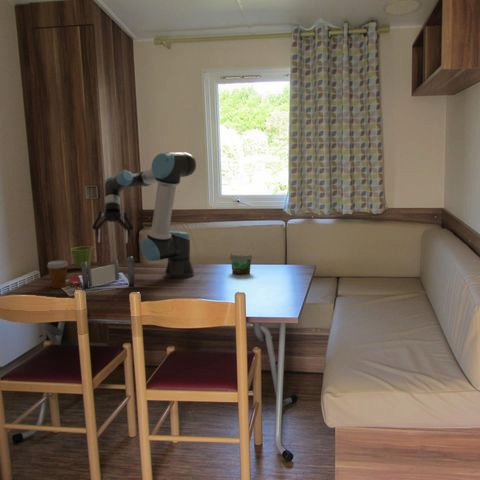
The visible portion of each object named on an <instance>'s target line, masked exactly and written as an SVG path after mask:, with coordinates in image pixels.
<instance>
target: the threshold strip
mask: <svg viewBox="0 0 480 480" xmlns="http://www.w3.org/2000/svg"><path fill="white" fill-rule="evenodd" d="M93 287H94V288H92V287H90V290H91V289H95V290H112V289H128V285H120V286H119V285H118V286H117V285H116V286H97V287H96V286H93Z"/></svg>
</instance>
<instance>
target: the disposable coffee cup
mask: <svg viewBox="0 0 480 480" xmlns="http://www.w3.org/2000/svg"><path fill="white" fill-rule="evenodd" d="M68 265H69V263H68V261H67V260H52V261H49V262H47V265H46V266H47V269H48V272H49V277H50V282H51V287H52V288H53V289H61V288H65V287H67V276H68V275H67V274H68V273H67V272H68Z"/></svg>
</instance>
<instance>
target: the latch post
mask: <svg viewBox="0 0 480 480" xmlns="http://www.w3.org/2000/svg"><path fill="white" fill-rule="evenodd" d="M126 263H127V265H126V266H127V278H128V279H127V281H128V283H127V284H128V285H127V289H135V288H136V287H137V285H136V278H135V275H136V274H135V258H134V257H133V256H131V255H130V256H128V257H127V259H126Z"/></svg>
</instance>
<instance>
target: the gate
mask: <svg viewBox="0 0 480 480" xmlns="http://www.w3.org/2000/svg"><path fill="white" fill-rule="evenodd" d="M87 274H88V287H90V288H92V287H96V286H98V285H103V284H107V283H110V282H115V281H119V280H120V278H119V261H118V259H113V260H112V264H109V265H104V266H100V267H95V268H91V267H88V268H87Z"/></svg>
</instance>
